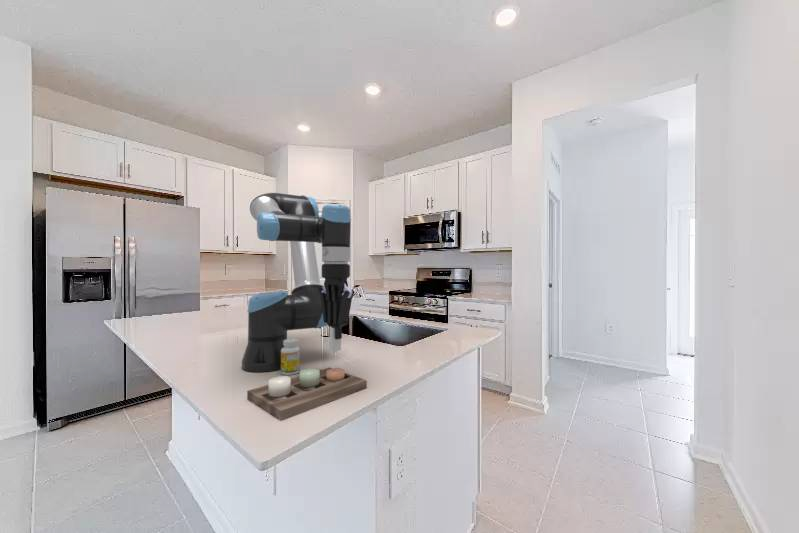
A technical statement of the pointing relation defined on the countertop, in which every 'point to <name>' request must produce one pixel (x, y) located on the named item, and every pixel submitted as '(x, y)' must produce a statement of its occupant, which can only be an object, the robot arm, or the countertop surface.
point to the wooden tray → (305, 395)
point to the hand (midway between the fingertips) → (335, 350)
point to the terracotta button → (335, 374)
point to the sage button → (309, 377)
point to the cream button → (279, 386)
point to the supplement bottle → (290, 357)
